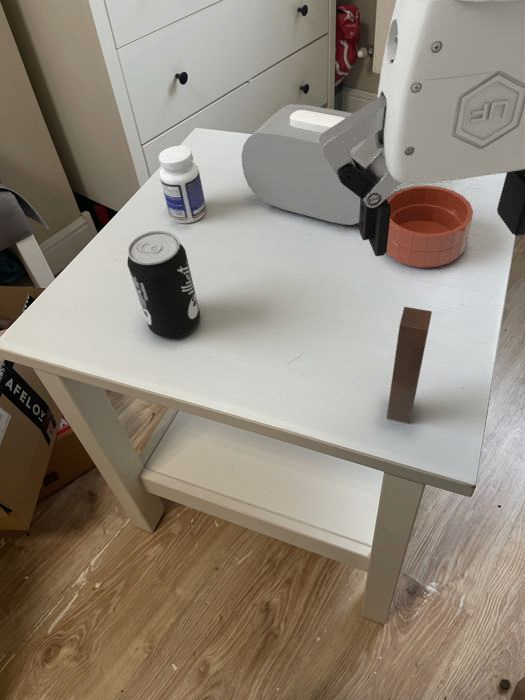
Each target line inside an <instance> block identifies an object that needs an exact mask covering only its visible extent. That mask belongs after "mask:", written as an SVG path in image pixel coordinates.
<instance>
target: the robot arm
mask: <svg viewBox="0 0 525 700" xmlns="http://www.w3.org/2000/svg"><path fill="white" fill-rule="evenodd" d="M384 47H385V48H384V52H383V58H382V63H381V69H380V74H379V75H380V76H379V81H378V90H377V97H376V98H375V99H373V100H371V101H370V102H368V103H367V104H366V105H364V106H363V107H361V108H359V109H357V111H355V112H352V113H353V114H352V115H350V116H348V117H347V118H345V119H344V120H342V121H341V122H339V123H338V124H336V125H334V126H333V127H331V128H330V129H328V130H327V131H325V132H323V133H322V134H321V135H320V137H319V143H320V145H321V148H322V150H323V153H324V155H325V156H326V158H327V160H328V161H329V163H330V165H331V166H332V168H333V170H334V171H335V173H336V174H337V176H338V178H339V179H340V182H341V183H342V184H343V185H344V186H345V187H347V188H348V189H349V190H351V191H352V192H353V193H355V194H356V195H357V196H359V197H360V214H359V223H358V229H359V235H360V237H361V239H362V241H367V240H368V242H369V244H370V247H371V249H372V252H373V254H374V256H375V257H381V256H384V255H385V254H387V253H386V252H387V244H388V234H389V224H390V214H391V208H390V205H389V203H388V201H387V198H388V197H389V196H390V195H391V194H393V193H394V191H395V189H397V187H398V186H399V185H400V184H401V185H402V184H403V185H408V186H421V185H427V184H428V185H429V184H437V183H443V182H449V181H458V180H466V179H472V178H478V177H485V176H493V175H499V174H505V178H504V181H503V182H504V183H503V185H502V190H501V192H500V197H499V200H498V204H497V208H496V212H497V215H498V216H499V217H500V219H501V220H502V222H503V223H504V224H505V226H506V227H507V229H508V230H509V232H510V233H511V234H512V235H514V236H516V237H518V236H524V235H525V0H396V1H395V5H394V8H393V12H392V16H391V20H390V25H389V28H388V33H387V37H386V42H385V46H384ZM372 135H374V137H375V144H376V146H377V148H378V149H377V150H376V151H375V152H374V153H373V155H372V156H371V157H370V158H369V159H368V160H367V162H366V163H365V164H364V165H363V166H362V165H360V164H359V163H358V162H357V161H355V160H354V159H353V158H352V157H351V156H350V151H351V149H352V148H353V147H355V146H356V145H358V144H359V143H361V142H363V141H364V140H366V139H367V138H369V137H371V136H372Z"/></svg>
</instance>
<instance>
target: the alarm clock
mask: <svg viewBox="0 0 525 700" xmlns="http://www.w3.org/2000/svg"><path fill="white" fill-rule="evenodd" d="M353 113H354V112H348V111H343V110H337V109H332V108H326V107H321V106H316V105H310V104H296V103H295V104H293V103H289V104H287V105H285V106H283V107H281V108H280V109H278V110H276V112H275V113H274V114H272V116H270V118H268V119H267V120H265V122H264V123H263V124H262V125H261V126H260V127H258V128H257V129H256V130H255V131H254V132H253V133H252V134H251V135H250V136H249V137H247V139H246V140H245V142H244V144H243V147H242V150H241V166H242V171H243V176H244V179H245V181H246V183H247V185H248V187H249V189H250V190H251V191H252V193H253V194H254V195H255V196H256V197H257V198H258V199H260V200H261V202H263V203H265V204H268V205H270V206H272V207H273V206H274V207H275V208H278V209H281V210H285V211H289V212H292V213H296V214H299V215H303V216H307V217H310V218H315V219H319V220H322V221H326V222H329V223H335V224H338V225H343V226H346V225H349V226H352V225H357V224H359V214H360V197H359V196H357V195H356V194H355V193H353V192H352V191H351V190H349V189H348V188H347V187H345V186H344V185H343V184H342V183H341V182H340V179H339V178H338V176H337V174H336V173H335V171H334V170H333V168H332V166H331V165H330V163H329V161H328V160H327V158H326V156H325V155H324V153H323V150H322V148H321V145H320V143H319V137H320V135H321V134H322V133H323V132H325V131H327V130H328V129H330V128H331V127H333V126H334V125H336V124H338V123H339V122H341V121H342V120H344V119H345V118H347V117H348V116H350V115H352V114H353ZM377 149H378V148H377V146H376V144H375V137H374V135H372V136H371V137H369V138H367V139H366V140H364V141H363V142H361V143H359V144H358V145H356V146H355V147H353V148H352V149H351V151H350V156H351V157H352V158H353V159H354V160H355V161H357V162H358V163H359V164H360V165H362V166H363V165H364V164H365V163H366V162H367V160H368V159H369V158H370V157H371V156H372V155H373V153H374V152H375V151H376V150H377Z"/></svg>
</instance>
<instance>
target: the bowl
mask: <svg viewBox="0 0 525 700" xmlns="http://www.w3.org/2000/svg"><path fill="white" fill-rule="evenodd" d="M386 199H387V201H388V203H389V205H390V208H391V214H390V224H389V234H388V244H387V252H386V253H385V254H387V255H388V256H389V257H391V258H392V259H393V260H395V261H396V262H398V263H399V264H400V263H401V265H405V266H408V267H414V268H420V269H430V268H438V267H442V266H445V265H447V264H449V263H450V264H451V263H452V262H453V261H456V260H457V259H459V257H461V255H462V254H463V253H464V252H465V250H466V247H467V242H468V237H469V233H470V229H471V224H472V219H473V214H474V210H473V207H472V205H471V203H470V201H468V200H467V199H466V198H465V197H464V195H462V194H460V193H458V192H456V191H455V190H452V189H450V188H446V187H442V186H437V185H429V184H428V185H427V184H423V185H411V186H408V187H405V188H401V189H399V190H397V191H395V192H392V193H391V194H390V195H389V196H388V197H387V198H386Z"/></svg>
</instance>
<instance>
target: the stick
mask: <svg viewBox="0 0 525 700" xmlns="http://www.w3.org/2000/svg"><path fill="white" fill-rule="evenodd" d="M432 313H433V311H432V310H426V309H420V308H414V307H409V306H404V307H403V309H402V314H401V318H400V321H399V327H398V334H397V342H396V347H395V348H396V349H395V355H394V361H393V362H394V363H393V370H392V375H391V376H392V377H391V384H390V390H389V398H388V405H387V411H386V412H387V413H386V419H387V420H390V421H391V420H392V421H395V422H401V423H404V424H405V423H406V424H410V423H411V420H412V414H413V410H414V405H415V400H416V395H417V390H418V385H419V380H420V374H421V370H422V365H423V360H424V354H425V350H426V344H427V339H428V335H429V329H430V324H431V319H432Z"/></svg>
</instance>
